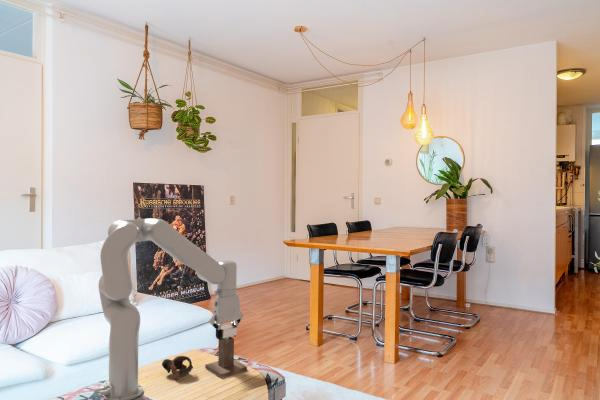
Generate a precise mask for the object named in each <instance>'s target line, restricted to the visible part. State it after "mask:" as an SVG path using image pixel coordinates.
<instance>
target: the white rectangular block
mask: <svg viewBox="0 0 600 400" xmlns="http://www.w3.org/2000/svg"><path fill="white" fill-rule="evenodd" d="M221 330H222V338H224V340H227V339H229V337H234V336H235V335H236V336H238V326H237V327H234V326H232V324H230V323H229V324H224V325H223V324H222V326H221ZM236 336H235V337H236Z"/></svg>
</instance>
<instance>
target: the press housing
mask: <svg viewBox="0 0 600 400" xmlns="http://www.w3.org/2000/svg"><path fill="white" fill-rule="evenodd" d="M217 359H218V361H215V362H214V361H213V362H210V363H207V364H205V365H204V368H206V370H207V371H208V372H210V373H211V374H213V375H214V376H216V377H218V378H219V379H223V378H226V377H228V376H229V377H230V376H232V375H236V374H239V373H244V372H246V371H248V367H247V366H246V365H245V364H243V363H241V362H240V361H237V360H236V359H235V338H234V337H233V336H231V337H229V339H227V340H224V338H222V339H221V340H219V339H218V358H217Z"/></svg>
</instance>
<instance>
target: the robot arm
mask: <svg viewBox="0 0 600 400" xmlns="http://www.w3.org/2000/svg"><path fill="white" fill-rule="evenodd" d="M147 241H148V242H149V241H150V242H153V243H154V244H155V245H156V246H158V248H161V250H163V251H164V252H165V253H167V254H168V255H169V256H170V257H172V258H173V259H174V260H175V261H177V262H179V263H180V264H183V265H184V266H187V267H188V268H190V269H191V270H194V271H195V273H196V276H197V278H198V279H200V280H202V281H204V282H206V283H208V284H211V285H217V286H216V290H215V291H214V295H216V296H215V299H214V304H213V314H212V316H211V317H210V319H209V320H208V324H210V325H211V326H212V327H213V328H214V329H215V338H216V339H217V340H218V341H219V340H221V339H222V330H221V326H222V325H223V324H225V323H230V322H231V325H232V326H234V327H237V328H238V326H239V323H241V320H242V319H243V318H244V316H245V315H244V314H243V313H242V312H241V304H240V298H239V294H237V273H238V272H237V268H238V267H237V263H236V262H235V261H233V260H222V261H217V260H216V259H214V258H213V257H211V255H209V254H208V253H207V252H205V251H204V250H202V249H201V248H199V247H198V246H197V245H196V244H194V243H193V242H192V241H191V240H189V239H188V238H186V236H184V235H183V234H182V233H180V232H179V231H178V230H177V229H176V228H175V227H173V226H172V225H171V224H170V223H169V222H167V221H166V220H164V219H160V218H156V217H155V218H154V217H153V218H152V217H151V218H150V217H149V218H140V219H139V218H137V219H136V218H135V219H119V220H116V221H113V222H112V223H111V224H110V225H109V227H108V229H107V237H106V239H105V240H104V242H103V245H102V247H101V250H100V255H99V256H100V257H99V258H100V266H101V273H102V275H100V278H99V281H98V292H99V298H100V303H101V309H102V312H103V317H104V318H105V321H106V322H107V323H108V324H109V326H110V328H109V329H110V330H109V339H108V381H105V384H104V385H103V386H101V387H96V388H93V395H94V396H96V395H99V396H100V397H101V396H103V399H104V400H133V399H136V398H138V397H140V396H141V395H142V394H143V391H144V390H143V388H144V387H143V386H142V385H141V384H139V338H140V336H139V335H140V328H141V327H140V326H141V313H140V311H139V309H138V308H137V307H136V305H134V304H132V302H131V301H130V296H131V295H132V293H133V283H132V282H133V281H132V277H131V273H130V266H129V260H128V259H129V257H128V255H129V251H130V249H131V247H132V246H133V245H134V244H135V243H138V242H139V243H140V242H147ZM234 337H237V335H235V336H233V338H234Z"/></svg>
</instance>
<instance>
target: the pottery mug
mask: <svg viewBox="0 0 600 400" xmlns="http://www.w3.org/2000/svg"><path fill="white" fill-rule="evenodd" d="M185 361H188V363H189V364H188V365H185V364H184V362H185ZM161 366H162V367H163V369H164V370H166V371H167V373H168V374H170V372H171V373H174V375H173V379H174V380H175V379H176V381H178V380H177V379H180V378H182V377H185V376H188V375H189V374H190V373H191V372H192V369H194V367H193V366H194V365H193V364H192V360H191V358H190V357H188V356H187V355H178V356H176V357H174V358H173V359H169V358H166V359H164V360H163V361H162V362H161Z"/></svg>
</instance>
